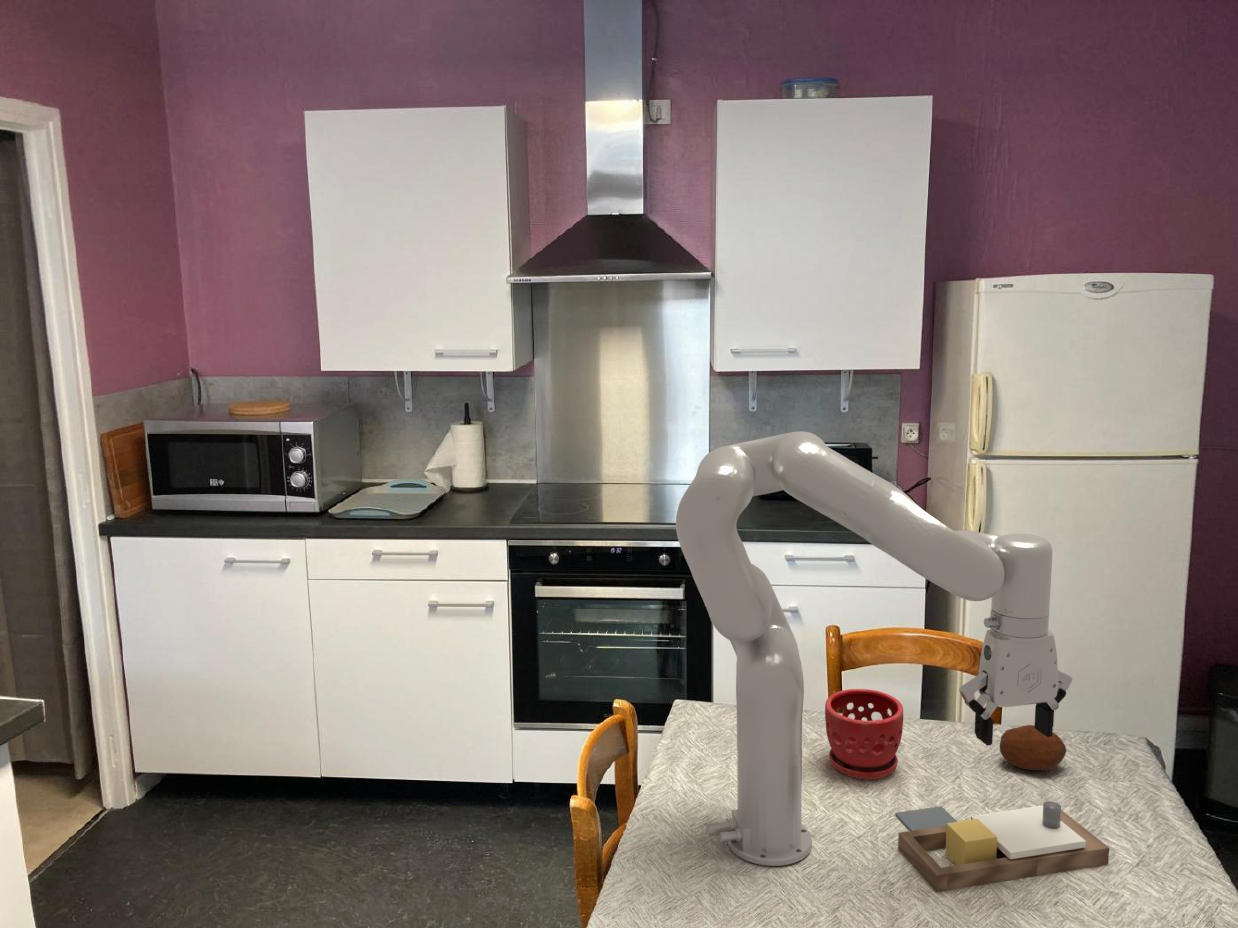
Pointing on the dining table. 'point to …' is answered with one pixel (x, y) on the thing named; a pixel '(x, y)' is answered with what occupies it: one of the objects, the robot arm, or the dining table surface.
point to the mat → (925, 818)
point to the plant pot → (864, 733)
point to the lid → (1031, 831)
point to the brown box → (1000, 868)
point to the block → (970, 842)
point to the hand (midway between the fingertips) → (1013, 736)
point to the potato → (1031, 748)
